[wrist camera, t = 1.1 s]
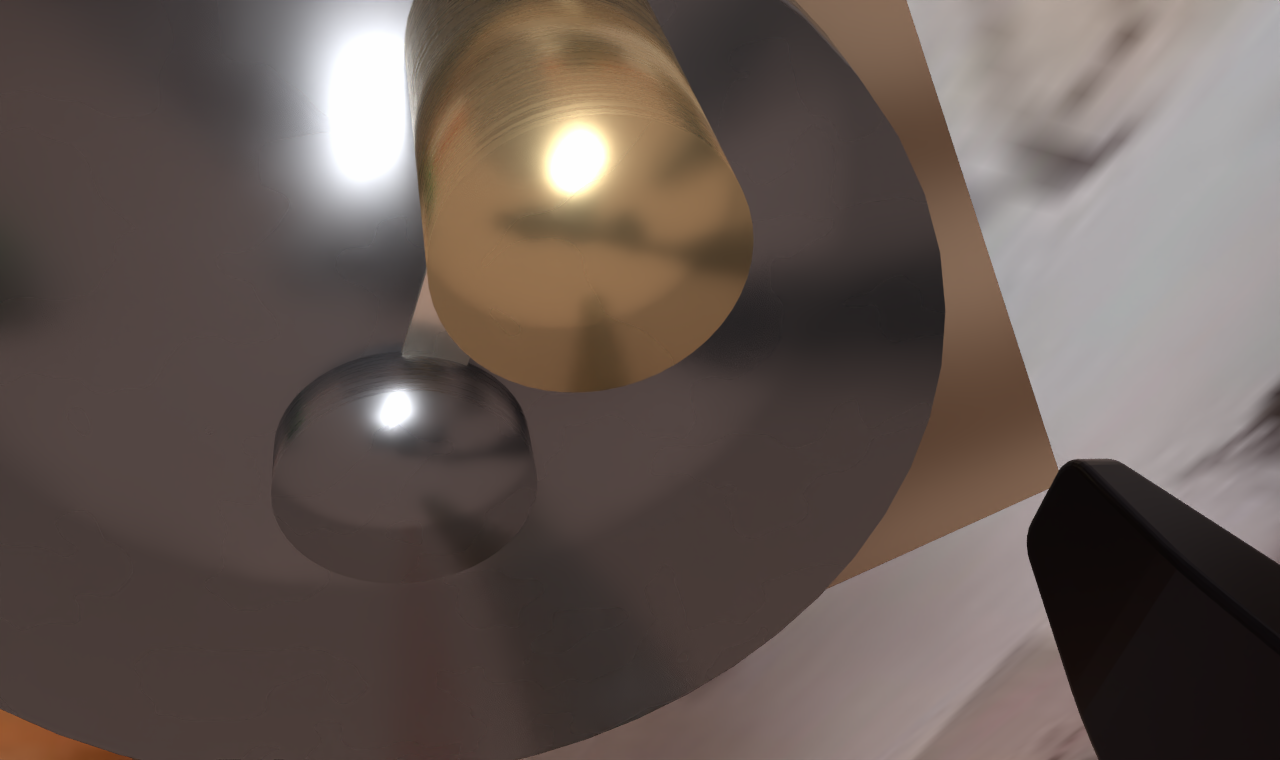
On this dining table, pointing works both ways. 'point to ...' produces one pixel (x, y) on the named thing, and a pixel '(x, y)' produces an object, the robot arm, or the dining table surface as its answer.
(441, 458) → the handwheel
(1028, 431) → the wheel base
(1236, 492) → the dining table surface
